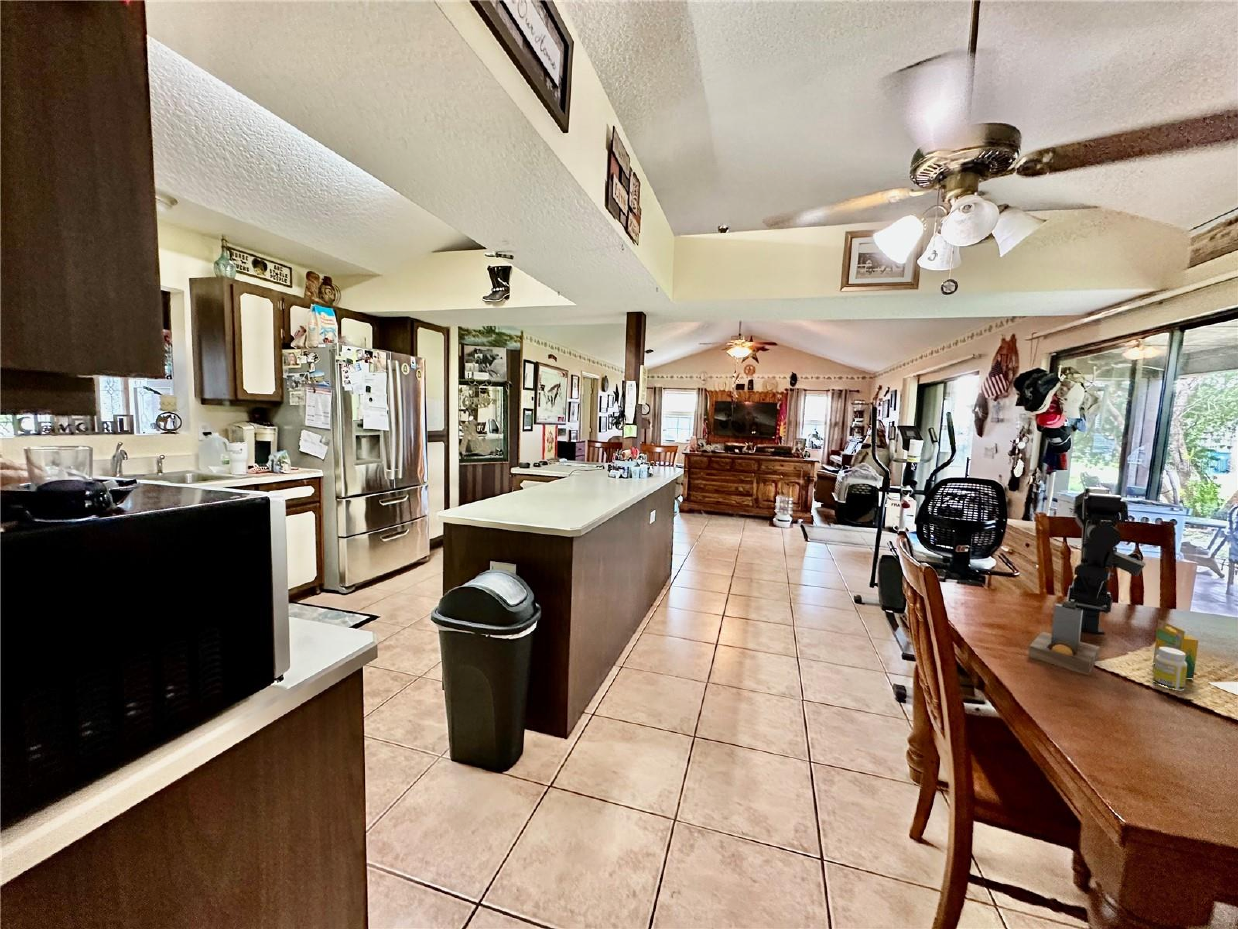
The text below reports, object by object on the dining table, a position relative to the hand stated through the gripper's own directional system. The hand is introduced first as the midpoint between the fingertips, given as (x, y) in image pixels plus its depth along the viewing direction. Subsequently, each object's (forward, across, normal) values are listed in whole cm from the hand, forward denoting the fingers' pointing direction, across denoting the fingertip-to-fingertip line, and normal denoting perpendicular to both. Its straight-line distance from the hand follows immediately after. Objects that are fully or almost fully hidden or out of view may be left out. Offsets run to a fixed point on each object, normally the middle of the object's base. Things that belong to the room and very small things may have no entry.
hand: (1093, 597), depth 128 cm
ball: (+11, -18, +3) cm, 22 cm away
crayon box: (+13, -4, -15) cm, 20 cm away
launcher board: (+13, -16, +3) cm, 21 cm away
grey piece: (+10, -16, +3) cm, 19 cm away
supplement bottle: (+13, -14, -15) cm, 25 cm away
